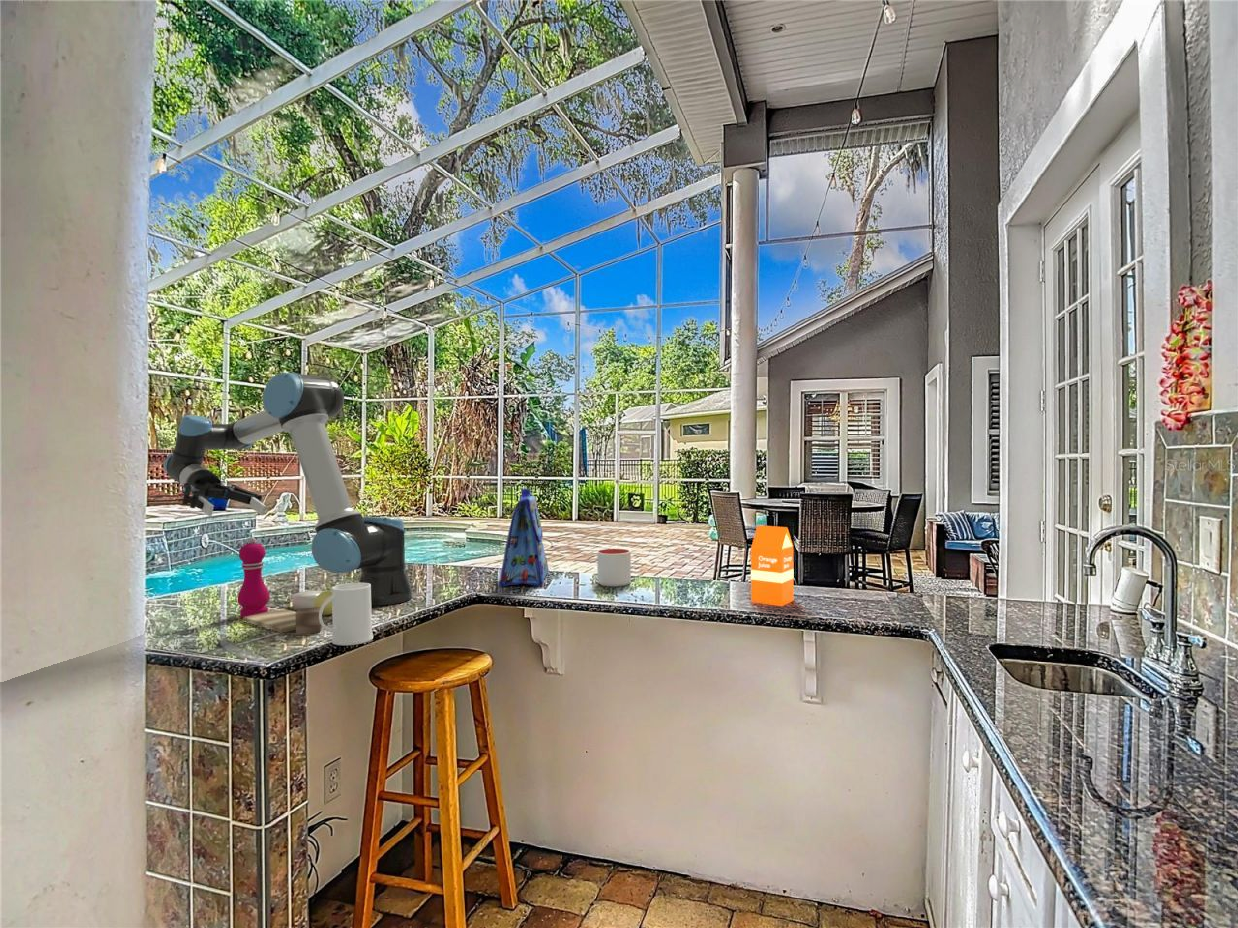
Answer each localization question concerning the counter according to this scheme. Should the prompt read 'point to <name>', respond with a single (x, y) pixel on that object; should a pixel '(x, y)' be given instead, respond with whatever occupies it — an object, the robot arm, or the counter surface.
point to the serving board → (274, 620)
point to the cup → (614, 567)
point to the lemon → (320, 601)
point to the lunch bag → (524, 546)
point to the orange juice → (772, 566)
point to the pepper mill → (252, 580)
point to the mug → (350, 614)
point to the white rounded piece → (305, 599)
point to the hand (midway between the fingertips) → (238, 510)
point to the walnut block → (307, 621)
